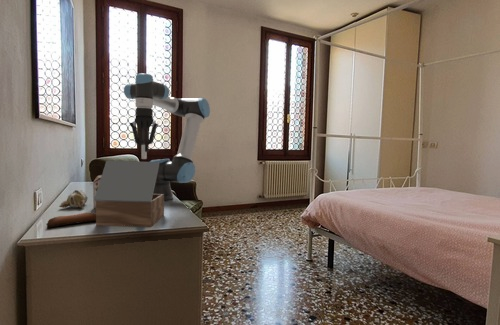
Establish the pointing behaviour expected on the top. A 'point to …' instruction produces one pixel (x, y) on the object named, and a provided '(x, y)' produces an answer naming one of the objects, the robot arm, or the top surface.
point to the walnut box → (130, 212)
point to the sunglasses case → (71, 219)
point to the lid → (127, 181)
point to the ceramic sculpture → (75, 200)
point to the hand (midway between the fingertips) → (144, 158)
